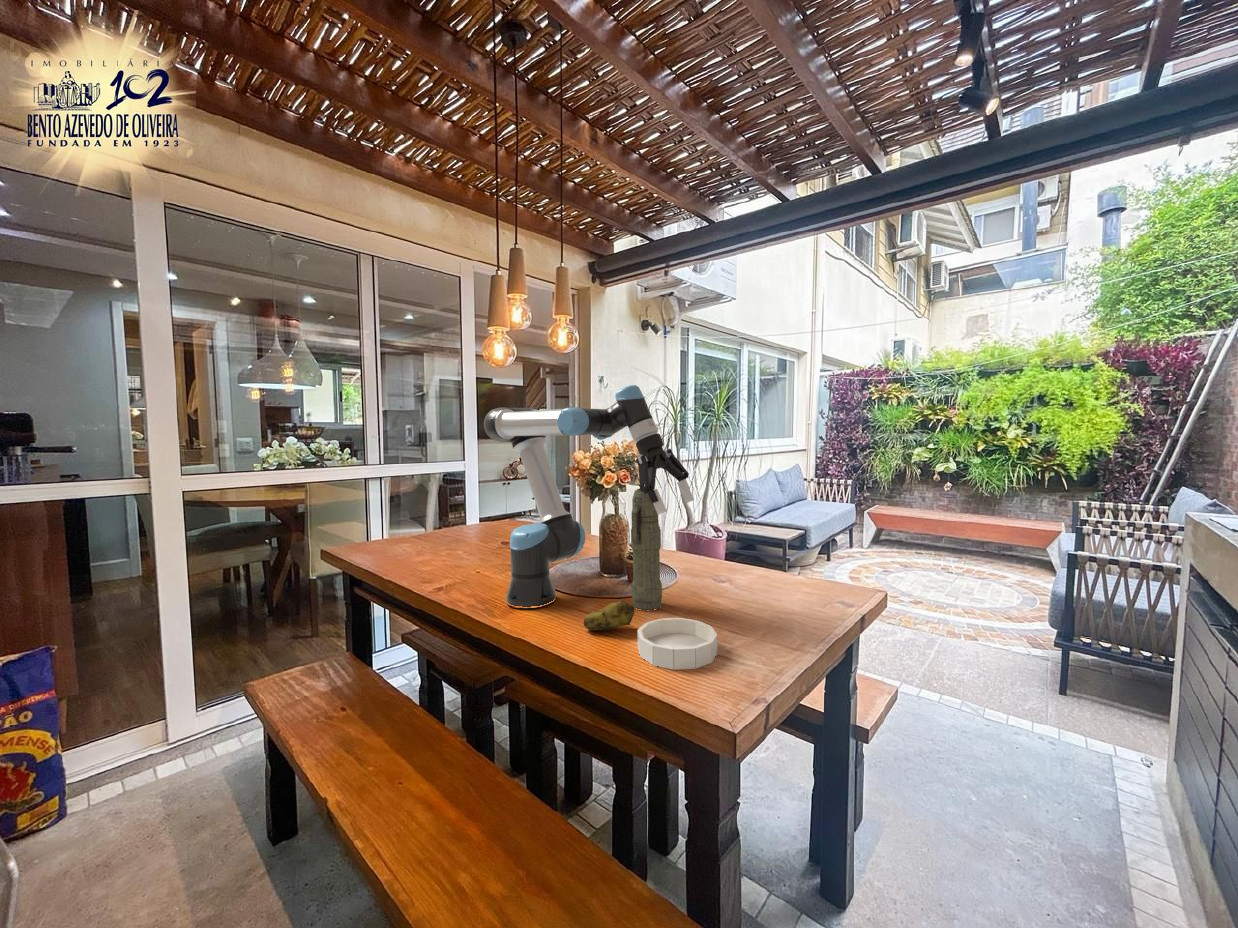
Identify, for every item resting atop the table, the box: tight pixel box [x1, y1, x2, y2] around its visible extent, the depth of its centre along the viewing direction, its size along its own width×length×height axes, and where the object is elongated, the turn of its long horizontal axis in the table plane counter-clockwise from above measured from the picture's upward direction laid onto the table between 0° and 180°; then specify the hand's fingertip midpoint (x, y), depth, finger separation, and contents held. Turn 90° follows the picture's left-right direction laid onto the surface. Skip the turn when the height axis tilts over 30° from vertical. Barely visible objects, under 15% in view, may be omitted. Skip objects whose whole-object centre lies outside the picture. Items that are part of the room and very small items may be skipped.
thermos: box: [630, 488, 663, 611], centre depth 144 cm, size 9×12×35 cm
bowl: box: [636, 617, 718, 671], centre depth 114 cm, size 18×18×4 cm
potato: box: [583, 600, 636, 632], centre depth 127 cm, size 8×13×8 cm, turn 65°
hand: (676, 507), depth 135 cm, fingers open, 13 cm apart
